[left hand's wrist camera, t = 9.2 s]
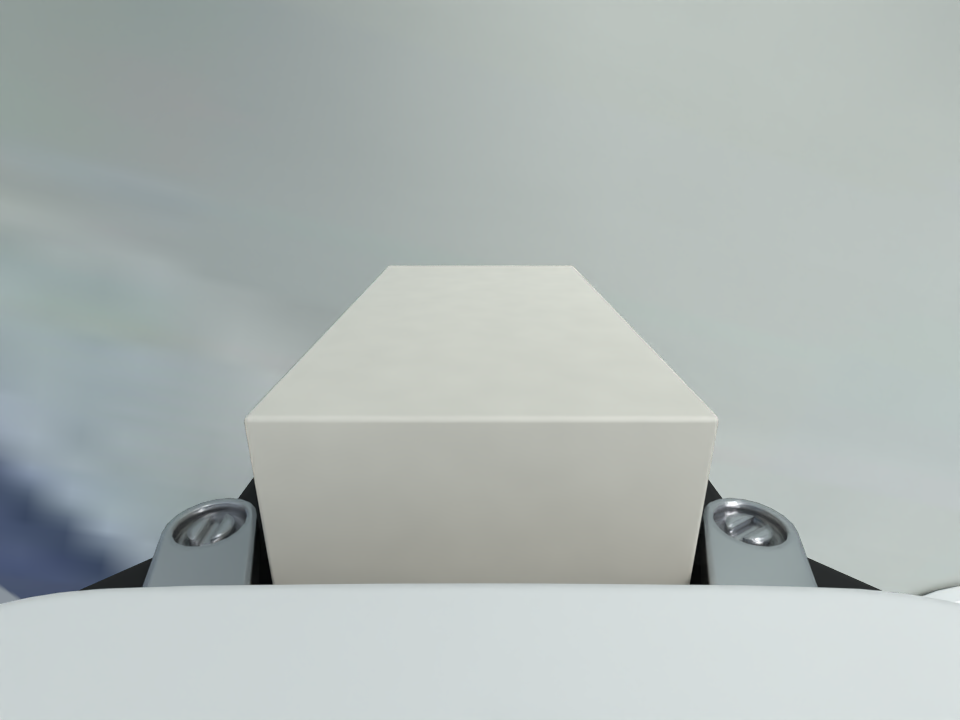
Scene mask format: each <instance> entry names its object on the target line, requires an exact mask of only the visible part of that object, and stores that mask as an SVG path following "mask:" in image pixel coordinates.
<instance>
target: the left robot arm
mask: <svg viewBox="0 0 960 720" xmlns="http://www.w3.org/2000/svg"><path fill="white" fill-rule="evenodd" d="M0 720H960V586H956V587H952V588H947V589H943V590H938V591H935V592H932V593H929V594H926V595H923V596H918V595H912V594H906V593H897V592H887V591H881V590H879V589H877V588H875V587H872V586H870V585H868V584H866V583H863V582H861V581H859V580H857V579H854V578H852V577H850V576H848V575H845V574H843V573H841V572H839V571H836V570H834V569H832V568H830V567H827V566H825V565H823V564H821V563H818V562H816V561H814V560H811V559H809V558H807V556H806V553H805V551H804V548H803V545H802V542H801V539H800V537H799V534H798V532H797V530H796V529H795V527H794V525H793V524H792V523H791V522H790V521H789V520H788V519H787V518H786V517H784V516H783V515H782V514H780V513H778V512H777V511H775V510H773V509H772V508H769V507H767V506H764V505H762V504H759V503H757V502H753V501H749V500H745V499H735V498H726V499H722V497H721V496H720V495H719V493H718V492H717V491H716V489H715V488H714V487H713V485H712V484H711V482H710V481H709V480H708V484H707V489H706V495H705V500H704V506H703V512H702V517H701V523H700V528H699V534H698V540H697V545H696V551H695V556H694V562H693V568H692V573H691V579H690V585H657V584H545V583H429V584H300V585H273V583H272V577H271V571H270V566H269V560H268V554H267V549H266V543H265V537H264V532H263V526H262V520H261V515H260V509H259V503H258V498H257V492H256V486H255V481H254V478H253V479H252V480H251V482H250V483H249V484H248V486H247V487H246V489H245V490H244V491H243V493H242V494H241V495H240V497H239V498H238V499H234V498H225V499H215V500H211V501H207V502H203V503H201V504H198V505H196V506H193V507H191V508H188V509H187V510H185V511H183V512H182V513H180V514H178V515H177V516H176V517H174V518H173V519H172V520H171V521H170V522H169V523H168V524H167V525H166V527H165V529H164V530H163V532H162V534H161V537H160V539H159V542H158V545H157V548H156V551H155V553H154V556H153V558H151V559H149V560H147V561H144V562H142V563H140V564H138V565H135V566H133V567H131V568H129V569H126V570H124V571H122V572H120V573H117V574H115V575H113V576H110V577H108V578H106V579H104V580H101V581H99V582H97V583H95V584H92V585H90V586H88V587H86V588H83V589H81V590H79V591H73V592H63V593H54V594H48V595H42V596H36V597H30V598H25V599H20V600H15V601H10V602H6V603H1V604H0Z"/></svg>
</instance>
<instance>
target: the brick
mask: <svg viewBox="0 0 960 720" xmlns="http://www.w3.org/2000/svg"><path fill="white" fill-rule="evenodd" d="M244 424H245V430H246V435H247V441H248V447H249V452H250V458H251V464H252V469H253V475H254V481H255V486H256V492H257V498H258V503H259V509H260V515H261V520H262V526H263V532H264V537H265V543H266V549H267V554H268V560H269V566H270V571H271V577H272V583H273V585H300V584H429V583H545V584H657V585H690V579H691V573H692V568H693V562H694V556H695V551H696V545H697V540H698V534H699V528H700V523H701V517H702V512H703V506H704V500H705V495H706V489H707V484H708V478H709V472H710V467H711V461H712V455H713V450H714V444H715V439H716V433H717V427H718V418H717V416H716V415H715V414H714V413H713V412H712V411H711V410H710V409H709V407H708V406H707V405H706V404H705V403H704V402H703V401H702V400H701V399H700V398H699V397H698V396H697V395H696V394H695V393H694V392H693V391H692V390H691V389H690V388H689V387H688V386H687V385H686V384H685V382H684V381H683V380H682V379H681V378H680V377H679V376H678V375H677V374H676V373H675V372H674V371H673V370H672V369H671V368H670V367H669V366H668V365H667V364H666V363H665V362H664V361H663V360H662V359H661V357H660V356H659V355H658V354H657V353H656V352H655V351H654V350H653V349H652V348H651V347H650V346H649V345H648V344H647V343H646V342H645V341H644V340H643V339H642V338H641V337H640V336H639V335H638V334H637V332H636V331H635V330H634V329H633V328H632V327H631V326H630V325H629V324H628V323H627V322H626V321H625V320H624V319H623V318H622V317H621V316H620V315H619V314H618V313H617V312H616V311H615V310H614V309H613V307H612V306H611V305H610V304H609V303H608V302H607V301H606V300H605V299H604V298H603V297H602V296H601V295H600V294H599V293H598V292H597V291H596V290H595V289H594V288H593V287H592V286H591V285H590V284H589V282H588V281H587V280H586V279H585V278H584V277H583V276H582V275H581V274H580V273H579V272H578V271H577V270H576V269H575V268H574V267H573V266H388V267H387V268H386V269H385V270H384V271H383V272H382V273H381V274H380V275H379V276H378V277H377V279H376V280H375V281H374V282H373V283H372V284H371V285H370V286H369V287H368V288H367V289H366V290H365V291H364V292H363V293H362V294H361V295H360V296H359V297H358V299H357V300H356V301H355V302H354V303H353V304H352V305H351V306H350V307H349V308H348V309H347V310H346V311H345V312H344V313H343V314H342V315H341V316H340V317H339V319H338V320H337V321H336V322H335V323H334V324H333V325H332V326H331V327H330V328H329V329H328V330H327V331H326V332H325V333H324V334H323V335H322V336H321V337H320V339H319V340H318V341H317V342H316V343H315V344H314V345H313V346H312V347H311V348H310V349H309V350H308V351H307V352H306V353H305V354H304V355H303V356H302V357H301V359H300V360H299V361H298V362H297V363H296V364H295V365H294V366H293V367H292V368H291V369H290V370H289V371H288V372H287V373H286V374H285V375H284V376H283V377H282V379H281V380H280V381H279V382H278V383H277V384H276V385H275V386H274V387H273V388H272V389H271V390H270V391H269V392H268V393H267V394H266V395H265V396H264V397H263V399H262V400H261V401H260V402H259V403H258V404H257V405H256V406H255V407H254V408H253V409H252V410H251V411H250V412H249V413H248V414H247V415H246V416H245V420H244Z"/></svg>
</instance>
